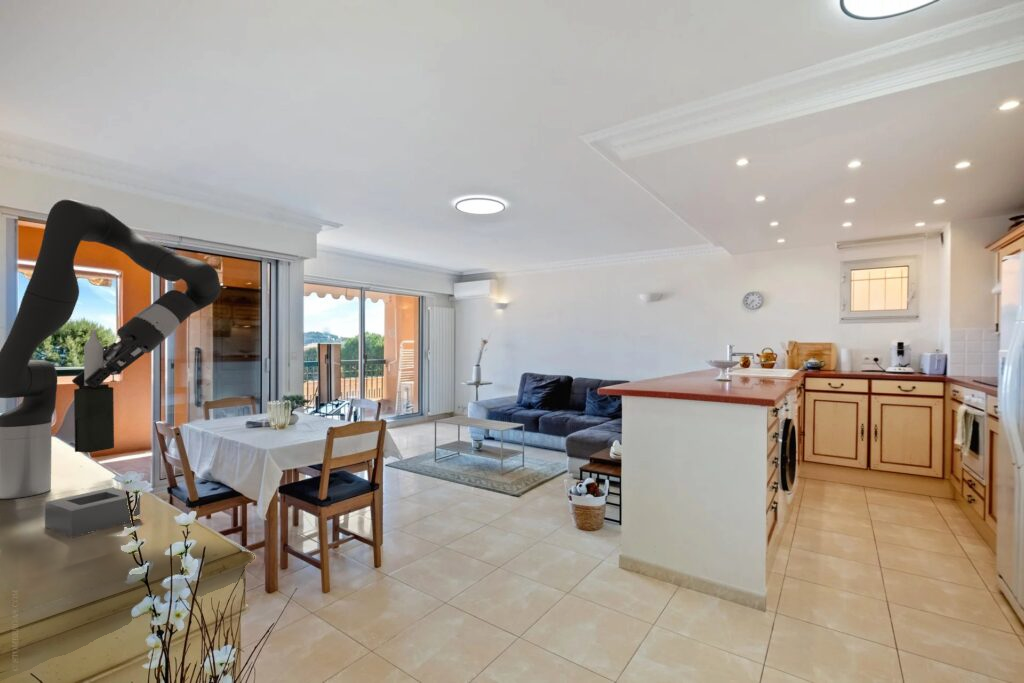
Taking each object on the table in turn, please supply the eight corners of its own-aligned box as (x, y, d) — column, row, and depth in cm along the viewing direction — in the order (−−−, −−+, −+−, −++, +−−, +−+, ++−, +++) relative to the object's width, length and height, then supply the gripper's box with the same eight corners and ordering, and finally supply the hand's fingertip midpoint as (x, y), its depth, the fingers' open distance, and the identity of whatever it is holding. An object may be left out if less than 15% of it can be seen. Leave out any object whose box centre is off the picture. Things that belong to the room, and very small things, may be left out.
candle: (116, 447, 98) (115, 329, 99) (88, 452, 93) (86, 328, 94) (100, 446, 100) (99, 330, 100) (72, 451, 95) (70, 329, 95)
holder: (44, 526, 93) (45, 501, 93) (112, 510, 103) (112, 487, 103) (71, 537, 88) (71, 511, 88) (139, 518, 97) (140, 494, 97)
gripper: (120, 317, 107) (50, 372, 96) (153, 313, 100) (81, 372, 89) (147, 340, 112) (83, 395, 101) (180, 338, 105) (115, 397, 94)
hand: (83, 384), depth 95 cm, fingers closed on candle, 5 cm apart
